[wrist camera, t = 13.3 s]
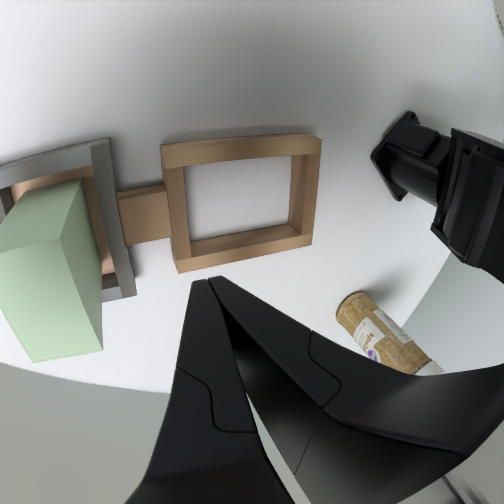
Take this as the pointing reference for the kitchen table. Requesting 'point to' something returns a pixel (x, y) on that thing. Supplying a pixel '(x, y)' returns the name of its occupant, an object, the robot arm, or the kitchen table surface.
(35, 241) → the sage peg
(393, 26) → the kitchen table surface
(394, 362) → the sprinkles bottle
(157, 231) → the joined double square frame
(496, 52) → the kitchen table surface
